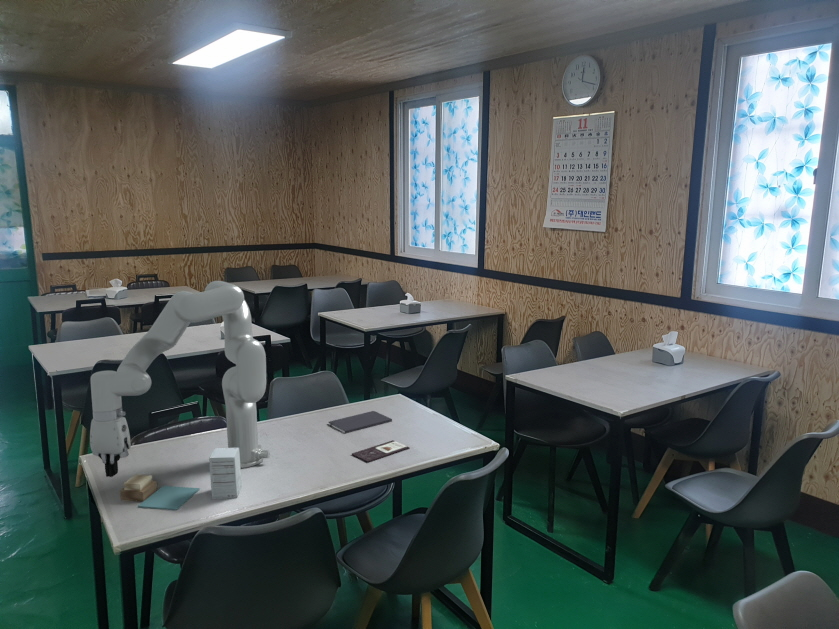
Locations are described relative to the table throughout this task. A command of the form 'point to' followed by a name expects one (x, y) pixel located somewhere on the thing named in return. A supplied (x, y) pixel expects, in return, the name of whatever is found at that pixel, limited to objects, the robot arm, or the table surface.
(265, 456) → the robot arm
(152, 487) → the walnut block
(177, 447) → the table surface
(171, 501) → the rubber mat
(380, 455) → the chocolate bar
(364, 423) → the notebook
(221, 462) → the supplement box
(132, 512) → the table surface
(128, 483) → the birch block
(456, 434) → the table surface
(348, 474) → the table surface
